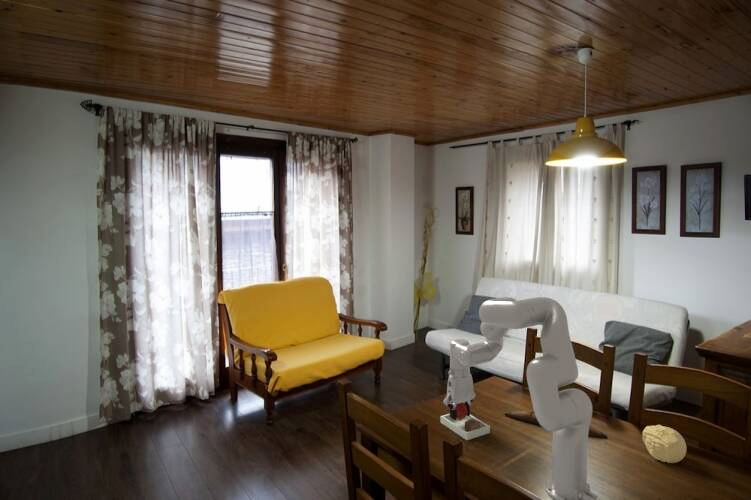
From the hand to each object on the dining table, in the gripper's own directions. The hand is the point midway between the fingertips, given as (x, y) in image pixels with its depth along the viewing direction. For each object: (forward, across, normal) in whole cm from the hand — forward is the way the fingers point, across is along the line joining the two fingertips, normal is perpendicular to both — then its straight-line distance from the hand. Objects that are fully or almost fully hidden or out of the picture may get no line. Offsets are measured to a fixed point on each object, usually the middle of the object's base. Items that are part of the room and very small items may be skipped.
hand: (459, 416), depth 177 cm
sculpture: (+4, +46, -52) cm, 69 cm away
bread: (+5, +31, -18) cm, 36 cm away
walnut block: (+3, 0, -7) cm, 8 cm away
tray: (+4, 0, -3) cm, 5 cm away
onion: (+2, 0, 0) cm, 2 cm away
